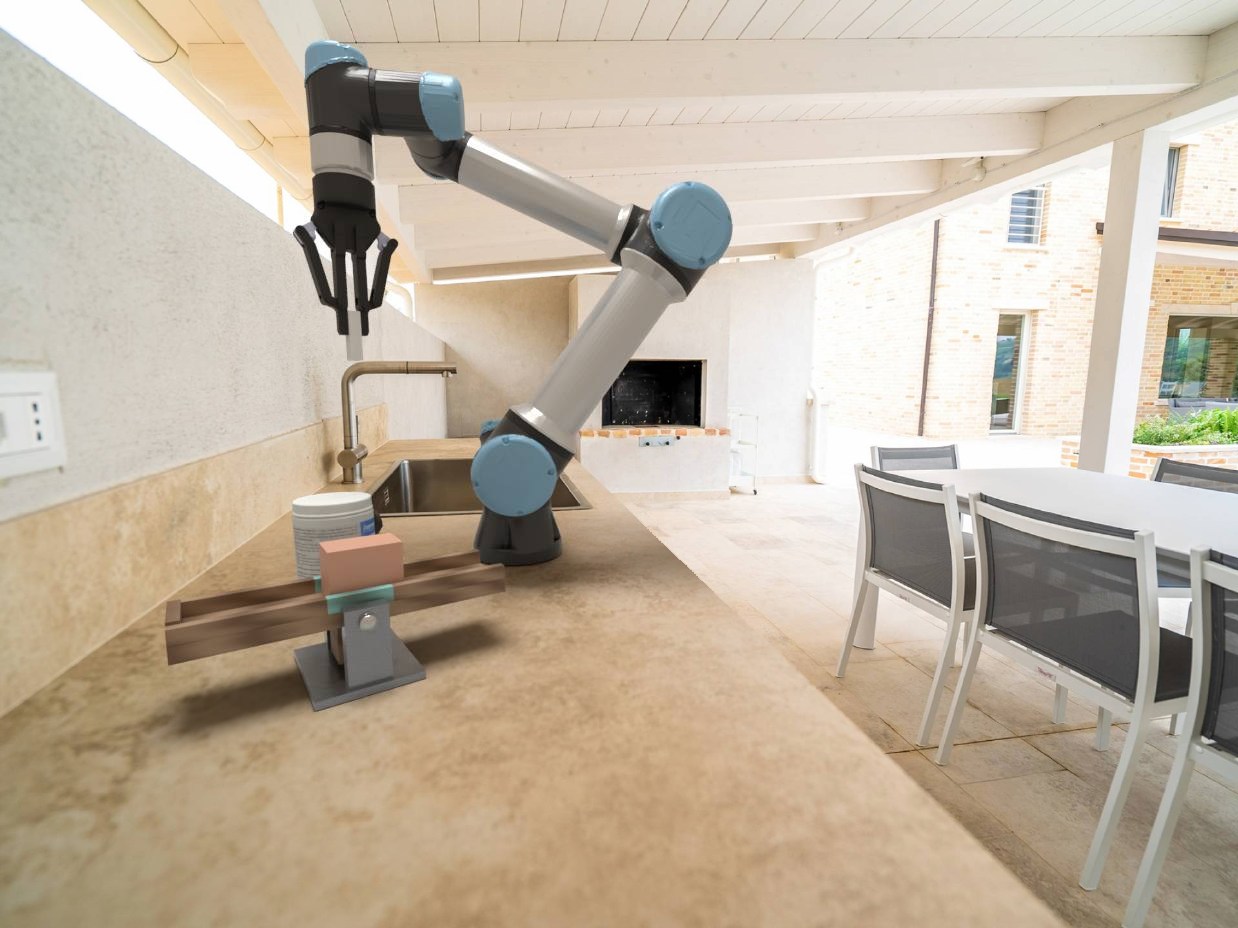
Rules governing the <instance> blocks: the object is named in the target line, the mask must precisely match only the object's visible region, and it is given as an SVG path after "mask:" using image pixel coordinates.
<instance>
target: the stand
mask: <svg viewBox="0 0 1238 928" xmlns="http://www.w3.org/2000/svg"><path fill="white" fill-rule="evenodd" d="M340 611H341V625H342V639H343V654H344V664H341V665H339V664H338V662H337V660H336V658H335V656H334V654H333V652H332V650H331V637H330V630H328V631H324V641H323V642H320V643H317V644H312V645H308V646H304V647H300V648H295V649H293V655H294V656H293V657H294V659H295V662H296V665H297V667H298V670H299V673H300V675H301V678H302V680H303V683H304V685H305V689H306V690H307V694H308V696H309V699H310V701H311V703H312V707H313V709H314V711H315V712H317V711H321V710H325V709H328V708H331V707H334V706H338V705H341V704H344V703H348V702H351V701H355V700H357V699H361V698H364V697H368V696H371V695H376V694H378V693H381V692H384V691H387V690H390V689H395V688H397V687H398V688H399V687H401V686H403V685H407V684H410V683H414V682H418V681H420V680H424V679H425V680H426V679H427V671H426V669H425V667H424V666H422V664H421V663H420V662H419V660H418V659H417V658H416V657H415V655H414V654H413V652H411V651H410V650H409V648H408V647H407V645H405V643H404V642H403V641H402V639H400V637H399V636H398V634H396V632H395V631H394V630H393V628H391V617H390V611H389V603H388V602H387V600H386V599H385V598H384V599H379V600H374V601H369V602H365V603H360V604H355V605H350V606H346V607H341V608H340Z"/></svg>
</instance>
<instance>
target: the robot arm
mask: <svg viewBox="0 0 1238 928" xmlns="http://www.w3.org/2000/svg"><path fill="white" fill-rule="evenodd" d="M303 81H304V82H303V84H304V89H305V97H306V98H305V99H306V100H305V101H306V110H307V119H308V120H307V121H308V132H309V133H308V134H309V135H308V137H309V150H310V153H309V154H310V166H311V171H312V173H313V174H314V176H312V178H311V183H312V194H313V195H312V197H313V198H312V199H313V211H312V212H313V213H312V214H311V216H310V221H309V222H306V223H305V224H299V225H298V224H297V225H296V227H295V228H294V229H293V231H292V235H293V237H294V238H295V240H296V242H297V243H298V244H299V245H300V246H301V248H302V251H303V253H304V256H305V260H306V263H307V266H308V269H309V273H310V274H311V279H312V281H313V284H314V288H315V291H316V294H317V297H318V300H319V302H320V304H321V305H322V306H325V307H328V308H331V309H333V310H334V312H335V318H336V319H335V320H336V332H337V334H338V335H339V336H345V345H346V346H345V349H346V350H345V351H346V360H347V361H351V362H352V361H353V362H356V361H359V362H360V361H364V354H363V352H364V351H363V337H368V336H369V334H370V321H369V313H370V311H372V310H375V309H378V308H381V306H382V305H383V302H384V301H383V300H384V296H385V293H386V292H385V291H386V285H387V281H388V276H389V270H390V265H391V261H392V255H393V254H394V252H395V251H396V250H397V248H398V246H399V241H398V239H396V238H390V237H389V236H388V235H387V234H385V233H384V232H383V231H382V228H381V224H380V222H379V221H378V218H377V207H376V206H377V204H376V187H375V185H374V184H373V183H372V182H373V181H374V180H375V169H374V168H375V166H374V155H373V136H381V137H395V138H403V139H404V141H405V143H406V145H407V148H408V150H409V152H410V156H411V158H412V159H413V162H414V163H415V165H416V166H417V167H418V168H419V170H421V171H422V172H423V174H425V175H426V176H428V177H429V178H431V179H433V180H437V181H446V180H447V181H448V180H449V181H452V182H453V183H457V184H459V185H461V186H463V187H465V188H467V189H470V190H471V191H473V192H475V193H478V194H480V195H482V196H485V197H487V198H489V199H491V200H493V201H494V202H495V201H496V202H497V203H499V204H501V205H503V206H506V207H507V208H510V209H512V210H514V211H516V212H518V213H521V214H523V215H525V216H528V217H529V218H532V219H534V220H536V221H537V222H540V223H542V224H544V225H547V226H548V227H550V228H553V229H555V230H557V231H559V232H561V233H563V234H566V235H567V236H570V237H572V238H574V239H576V240H578V241H580V242H583V243H585V244H587V245H588V246H591V247H594V248H595V249H598V250H600V251H602V252H604V253H605V256H606V259H607V261H609V262H610V263H613V264H615V265H617V266H619V267H621V269H620V270H619V271H618V273H617V275H616V276H615V277H614V278H613V280H612V282H611V283H610V284H609V286H608V287H607V289H606V290H605V291H604V293H603V294H602V296H601V297H600V299H599V300H598V301H597V303H595V305H594V307H593V308H592V309H591V312H590V313H589V314H588V315H587V316H586V319H584V321H583V322H582V324H581V325H580V327H579V328H578V330H577V331H576V332H575V334H574V336H573V337H572V338H571V339H570V341H569V342H568V344H567V345H566V346H565V348H564V349H563V350H562V352H561V353H560V355H559V356H558V358H557V359H556V360H555V362H554V363H553V365H552V366H551V368H550V369H549V370H548V372H547V374H546V375H544V378H542V380H541V381H540V382H539V383H540V384H538V386H537V387H536V389H535V390H534V391H533V393H532V394H531V395H530V397H529V398H528V400H527V402H524V403H521V404H515V405H514V404H513V405H511V406H510V407H509V409H508V410H507V411H506V413H505V414H504V415H503V416H502V418H501V419H500V418H499V419H489V420H485V421H482V423H481V424H480V429H479V432H480V433H479V435H478V439H479V442H480V447H479V448H478V449H477V451H476V452H475V454H474V456H473V458H472V462H471V464H470V473H469V474H470V480H471V485H472V489H473V491H474V493H475V495H476V497H477V498H478V499H479V501H480V502H481V503H482V512H481V516H480V520H479V522H478V525H477V530H476V532H475V536H474V539H473V550H475V549H477V550H479V551H480V562H483V563H485V564H489V565H493V564H498V563H501V564H503V565H504V566H523V565H532V564H538V563H542V562H548V561H550V560H553V559H555V558H557V557H559V556H560V555H561V554H562V553H563V538H562V535H561V532H560V529H559V526H558V523H557V521H556V518H555V515H554V512H553V509H552V495H553V494H554V490H555V489H556V484H557V482H558V481H557V480H558V479H559V477H560V476H561V474H563V472H564V471H565V470H566V467H567V466H568V465H569V463H570V462H571V461H572V459H573V458H574V456H575V455H576V454H577V445H576V436H577V435H578V433H579V432H580V430H581V429H582V427H583V426H584V425H585V423H586V422H587V420H588V419H589V417H591V415H592V414H593V412H594V410H595V409H596V408H597V407H598V405H599V404H600V402H602V400H603V398H604V396H605V395H606V394H607V392H608V391H609V390H610V389H611V387H612V386H613V384H614V383H615V381H616V380H617V379H618V377H619V376H620V374H621V372H623V370H624V368H625V367H626V366H627V365H628V363H629V361H630V360H631V359H632V357H633V356H634V354H635V353H636V351H638V349H639V348H640V347H641V345H642V343H643V342H644V340H645V339H646V338H647V336H648V335H649V333H650V332H651V330H652V329H653V328H654V327H655V325H656V323H657V322H658V321H659V319H660V318H661V316H662V315H663V314H664V312H665V311H666V310H667V308H668V307H669V306H670V305H672V304H679V303H684V302H685V301H686V299H687V298H688V297H689V296H690V294H691V292H693V290H694V289H695V287H696V285H697V284H698V283H699V281H700V280H701V279H702V277H703V276H704V275H705V273H706V272H707V270H708V269H709V268H710V267H711V266H714V265H716V263H717V262H719V261H720V260H721V259H722V257H723V256H724V254H725V253H726V252H727V250H728V248H729V246H730V243H731V240H732V236H733V231H734V230H733V225H734V224H733V219H732V214H731V211H730V208H729V205H728V204H727V202H726V201H725V199H724V198H723V197H722V195H721V194H720V193H719V192H718V191H716V190H715V189H714V188H713V187H712V186H709V185H707V184H705V183H702V182H700V181H694V180H692V181H689V180H687V181H680V182H678V183H675V184H673V185H671V186H669V187H668V188H665V190H663V191H661V192H660V193H659V194H658V196H657V197H656V199H655V200H654V202H653V204H652V206H651V207H650V208H649V209H646V208H643V207H640V206H639V205H636V204H634V203H629V204H626V205H620V204H619V203H616V202H614V201H612V200H610V199H608V198H606V197H604V196H603V195H600V194H598V193H596V192H593V191H591V190H590V189H587V188H585V187H583V186H582V185H580V184H577V183H575V182H573V181H571V180H569V179H566V178H565V177H562V176H561V175H559V174H557V173H554V172H553V171H551V170H548V169H546V168H544V167H542V166H539V165H538V164H536V163H534V162H532V161H530V160H528V159H526V158H524V157H521V156H519V155H517V154H515V153H513V152H511V151H509V150H507V149H505V148H503V147H500V146H499V145H497V144H494V143H493V142H490V141H488V140H486V139H484V138H482V137H480V136H478V135H476V134H473V133H471V132H470V131H467V130H466V119H465V117H466V116H465V102H464V101H465V100H464V95H463V87H462V85H461V82H460V81H459V79H458V78H457V77H455V76H453V75H448V74H441V73H436V72H433V71H412V70H411V71H409V70H408V71H407V70H395V69H381V68H380V69H378V68H373V67H369V65H368V60H367V58H366V56H365V55H364V54H363V53H362V52H361V51H360V50H359V49H358V48H357V47H354V46H352V45H351V44H348V43H340V42H339V41H338V40H334V39H333V40H331V39H321V40H317V41H313V42H312V43H310V44H309V45H308V46H307V47H306V50H305V53H304V79H303ZM315 232H316V233H317V234H318V236H319V237H320V238H321V240H322V241H323V243H324V244H325V245H326V246H327V247H328V248H329V250H330V259H331V267H332V268H331V269H332V283H333V284H332V285H333V287H332V288H333V294H332V291H331V288H330V284H329V281H328V279H327V275H326V273H325V269H324V266H323V263H322V259H321V257H320V253H319V249H318V248H317V247H318V246H317V244H316V242H315V240H316V239H317V235H316V233H315ZM375 241H377V245H376V247H377V249H378V251H379V252H378V255H377V258H376V264H375V268H374V269H375V270H374V273H373V280H372V284H371V291H370V294H369V292H368V291H369V289H368V274H367V273H368V272H367V251H369V249H370V248H371V246H372V245H373V243H374V242H375ZM347 253H349V254H350V259H351V265H352V276H353V277H352V278H353V279H352V280H353V293H354V294H353V295H354V309H355V310H349V309H348V308H349V300H348V299H349V297H348V280H347V267H346V265H347V263H346V256H347ZM369 295H370V296H369Z"/></svg>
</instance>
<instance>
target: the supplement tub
mask: <svg viewBox="0 0 1238 928" xmlns="http://www.w3.org/2000/svg"><path fill="white" fill-rule="evenodd" d="M372 501H373V500H372V495H371V494H370V493H367V492H363V491H336V492H325V493H324V492H323V493H318V494H317V493H316V494H310V495H305V496H302V497H298V498H296V499H294V500H292V503H291V505H292V506H291V507H292V508H291V509H292V511H291V522H292V536H293V545H294V557H295V568H296V580H298V579H304V578H310V577H316V576H321V572H320V556H319V542H326V541H333V540H341V539H348V538H355V537H362V536H369V535H375V525H374V512H373V508H374V504H373V502H372Z"/></svg>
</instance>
